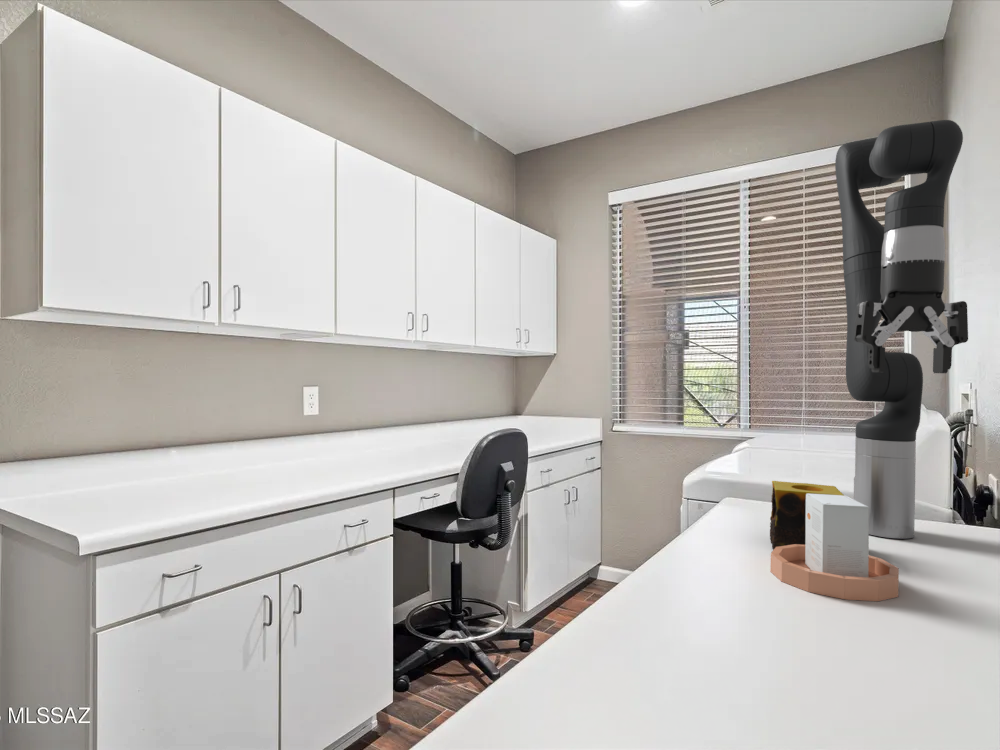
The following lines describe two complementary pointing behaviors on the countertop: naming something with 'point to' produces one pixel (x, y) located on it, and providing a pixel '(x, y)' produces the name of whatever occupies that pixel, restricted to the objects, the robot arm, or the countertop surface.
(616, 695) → the countertop surface
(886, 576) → the round tray
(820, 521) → the small box
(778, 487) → the yellow and black cube
